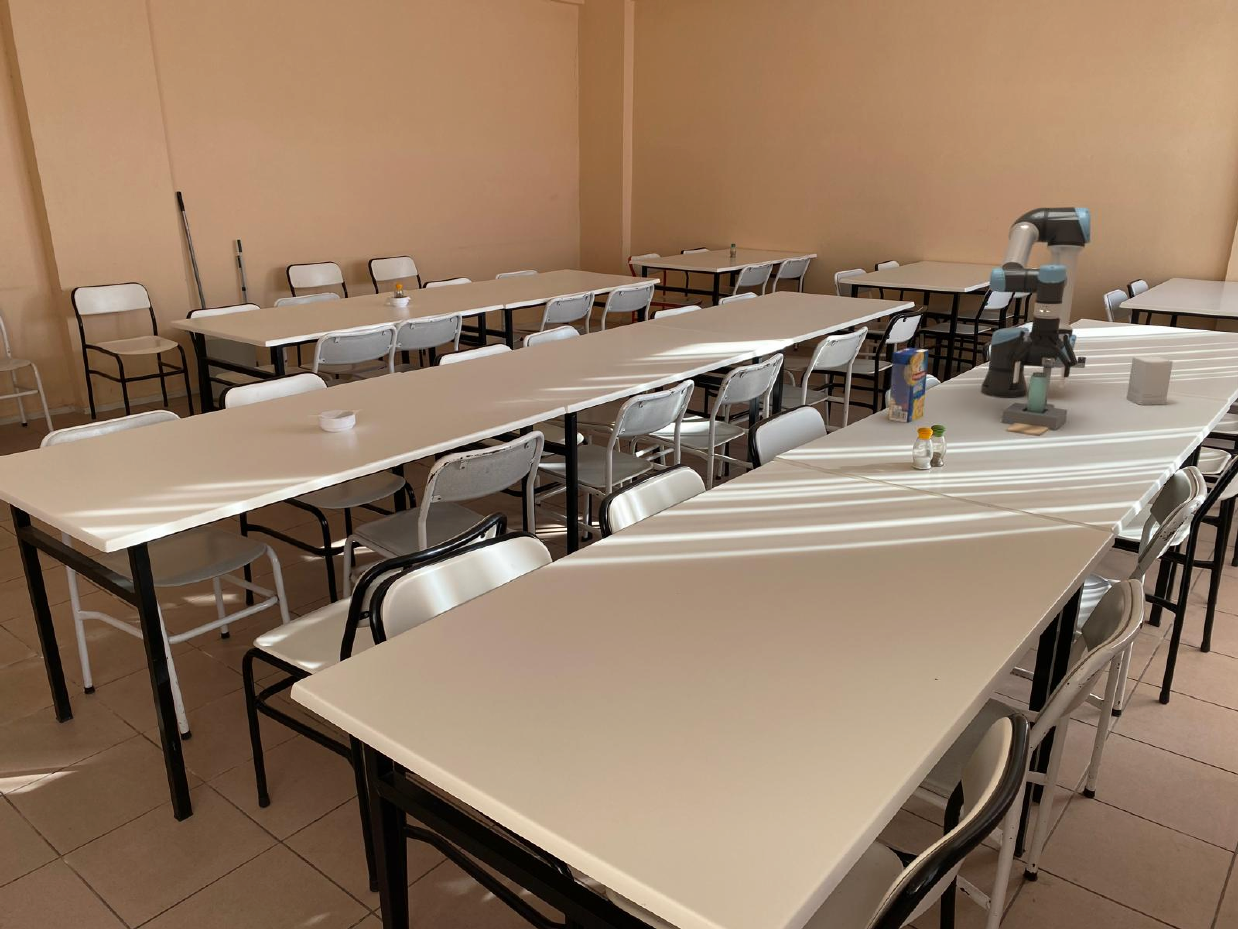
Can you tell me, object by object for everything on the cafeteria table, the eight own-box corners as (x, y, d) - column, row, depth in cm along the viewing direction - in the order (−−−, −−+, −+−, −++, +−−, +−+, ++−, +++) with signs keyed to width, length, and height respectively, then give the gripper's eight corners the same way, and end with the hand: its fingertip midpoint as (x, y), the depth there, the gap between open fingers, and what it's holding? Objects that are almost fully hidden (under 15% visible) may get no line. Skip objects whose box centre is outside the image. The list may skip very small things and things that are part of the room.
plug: (1023, 422, 282) (1029, 373, 277) (1027, 419, 286) (1033, 371, 281) (1039, 425, 279) (1045, 375, 274) (1043, 421, 283) (1050, 373, 278)
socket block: (1001, 422, 283) (1007, 372, 278) (1017, 411, 295) (1023, 363, 290) (1055, 430, 273) (1062, 378, 268) (1069, 418, 285) (1076, 369, 280)
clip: (1042, 366, 283) (1043, 356, 282) (1040, 364, 286) (1042, 354, 285) (1085, 368, 279) (1086, 358, 278) (1083, 366, 282) (1085, 356, 281)
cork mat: (1005, 430, 274) (1005, 429, 274) (1015, 423, 281) (1015, 421, 281) (1040, 436, 268) (1040, 434, 268) (1049, 428, 275) (1049, 426, 275)
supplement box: (1166, 404, 299) (1174, 361, 295) (1139, 405, 299) (1146, 361, 295) (1151, 398, 308) (1158, 355, 303) (1125, 399, 308) (1132, 356, 303)
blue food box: (923, 415, 293) (928, 349, 286) (907, 422, 285) (913, 355, 279) (903, 412, 298) (908, 347, 291) (888, 419, 290) (893, 352, 283)
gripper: (1000, 315, 277) (993, 381, 283) (1088, 321, 262) (1078, 391, 268) (1008, 312, 283) (1000, 378, 289) (1094, 318, 267) (1084, 387, 274)
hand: (1038, 384), depth 279 cm, fingers open, 13 cm apart
